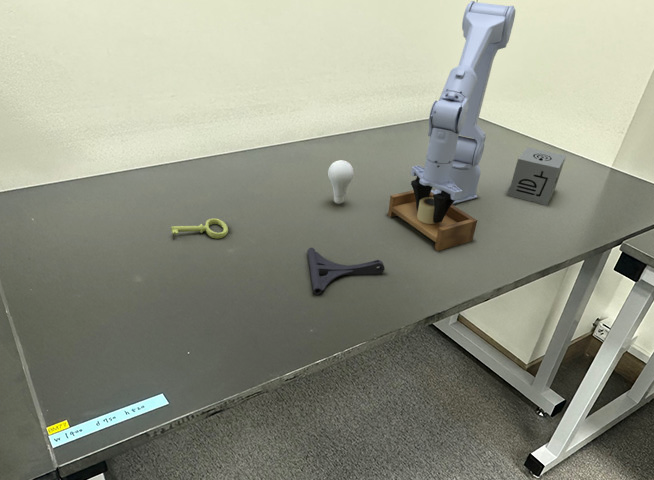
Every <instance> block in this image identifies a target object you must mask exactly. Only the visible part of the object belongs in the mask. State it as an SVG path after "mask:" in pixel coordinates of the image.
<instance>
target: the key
mask: <svg viewBox="0 0 654 480" xmlns="http://www.w3.org/2000/svg"><path fill="white" fill-rule="evenodd" d="M211 225H218V226H220V227H221V228H222V231H221V232H216V231H213V230H212V229H211V228H210V226H211ZM170 228H171V229H170V231H171V233H172V235H174V236H175V235H179V233H184V232H185V233H186V232H188V233H190V232H200V234H203V232H205V233H206V234H207V235H208V237H210V238H212V239H223V238H225V237H226V236H227V234H228V233H229V228H228V225H227V224H226V222H225V221H223V220H221V219H219V218H216V217H215V218H209V219H207V220H206V221H205V225H203V224H202V223H200V224H199V225H176V226H175V225H173V226H171V227H170Z"/></svg>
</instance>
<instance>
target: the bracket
mask: <svg viewBox="0 0 654 480" xmlns="http://www.w3.org/2000/svg"><path fill="white" fill-rule="evenodd" d="M307 258H308V265H309V271H310V277H311V278H310V280H311V285H312V292H313V294H314V295H316V296H320V295H321V294H322V292H325V289H326V287H328V285H329V284H330V283H331V282H332V281H334V280H335V279H337V278H338V277H341V276H350V275H351V276H352V275H353V276H354V275H355V276H356V275H357V276H358V275H359V276H361V275H380V274H382V273H384V271H385V265H384V262H383V261H382V260H380V259H375V260H372V261H368V262H363V263H358V264H348V265H347V264H343V263H342V264H341V263H337V262H334V261H332V260H329V259H327V258H325V257H324V256H322V255H321V254H320V252H318V251H316V249H315V247H309V248H308V249H307Z"/></svg>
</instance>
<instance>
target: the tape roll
mask: <svg viewBox="0 0 654 480" xmlns="http://www.w3.org/2000/svg"><path fill="white" fill-rule="evenodd" d="M433 216H434V198H432V197H426V198H422V199H421V200H420V202H419V208H418V213H417V219H418V220H419V221H421V222H423V223H427V224H436V223H434V222H433Z"/></svg>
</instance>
